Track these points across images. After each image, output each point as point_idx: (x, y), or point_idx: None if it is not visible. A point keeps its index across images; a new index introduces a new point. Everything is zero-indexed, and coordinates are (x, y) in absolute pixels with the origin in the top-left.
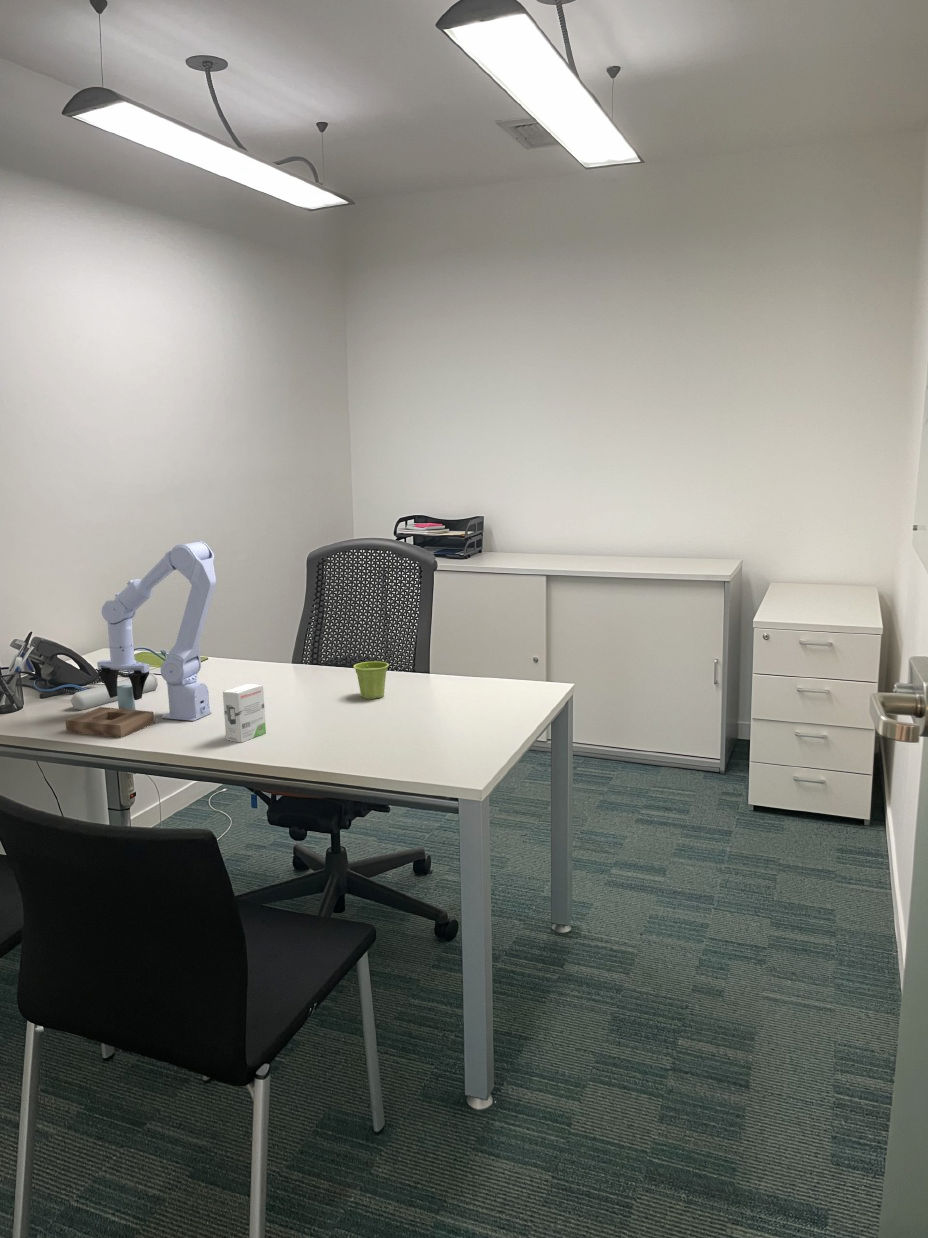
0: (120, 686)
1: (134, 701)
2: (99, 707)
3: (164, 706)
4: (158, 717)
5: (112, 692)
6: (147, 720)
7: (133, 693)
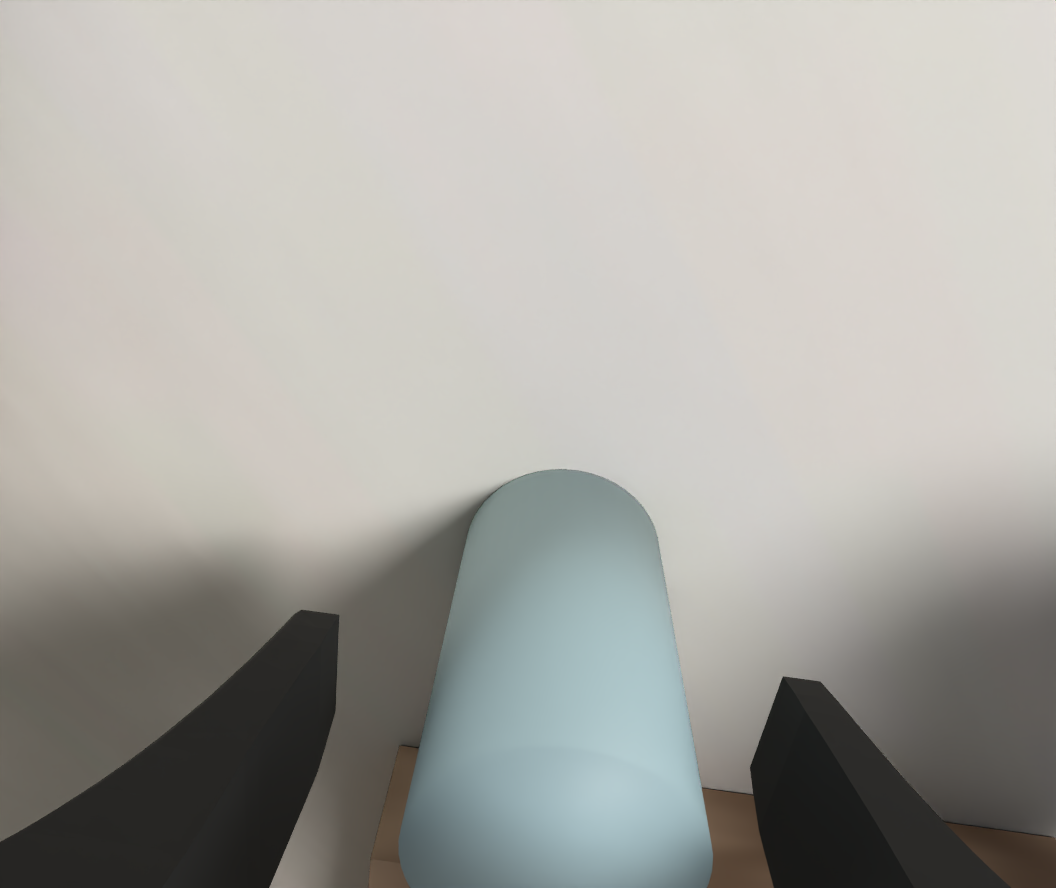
0: (453, 859)
1: (672, 626)
2: (371, 872)
3: (951, 183)
4: (1030, 661)
5: (310, 755)
6: None
7: (780, 884)
